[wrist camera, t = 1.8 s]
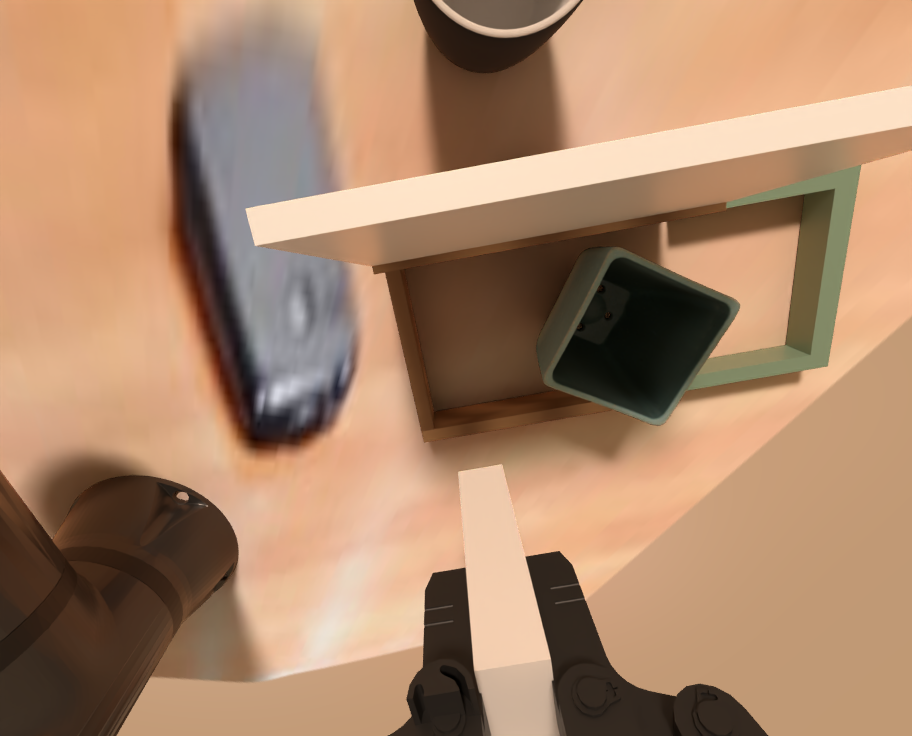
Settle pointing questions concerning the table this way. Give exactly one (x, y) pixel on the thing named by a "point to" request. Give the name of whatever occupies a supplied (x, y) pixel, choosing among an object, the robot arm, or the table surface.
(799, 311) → the potting tray
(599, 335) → the flower pot
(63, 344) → the table surface
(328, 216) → the lid
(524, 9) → the mug
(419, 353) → the brown wooden box
